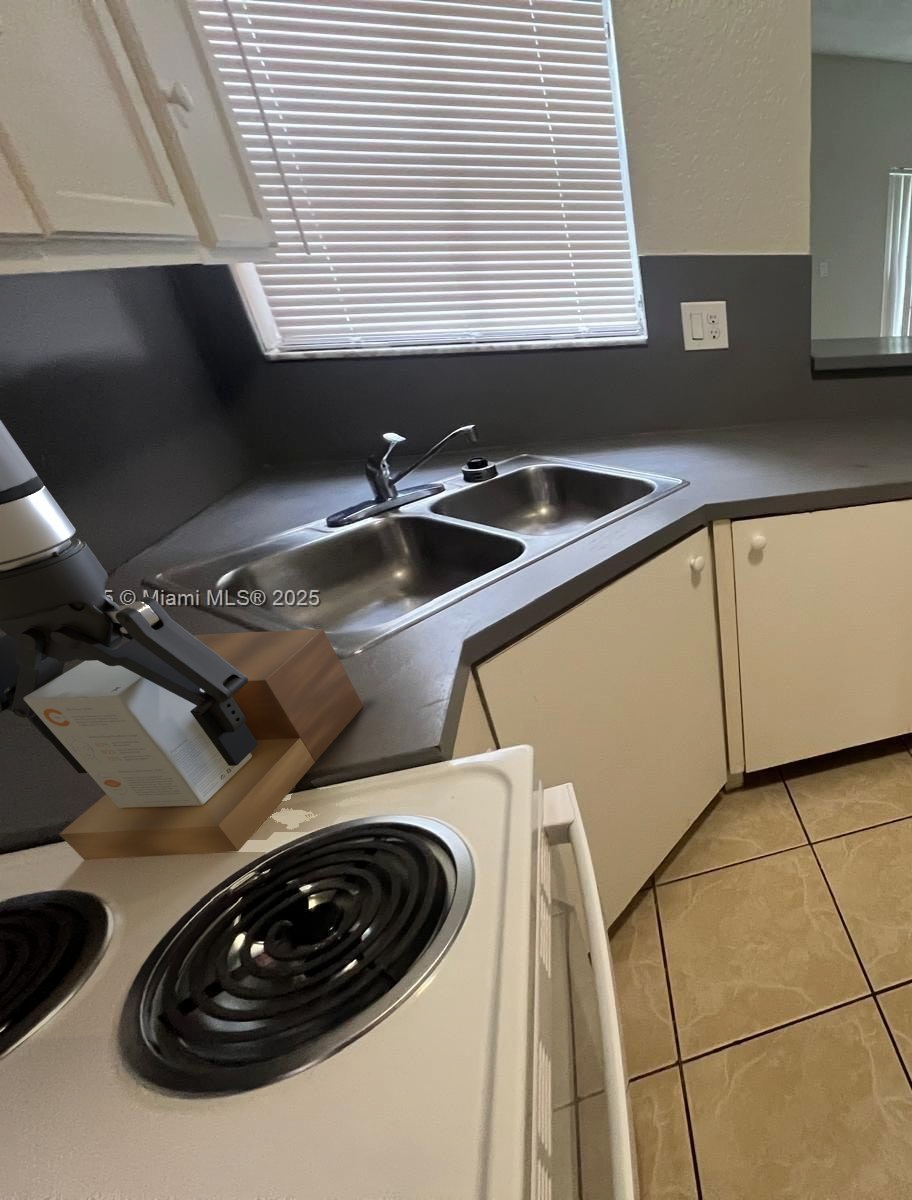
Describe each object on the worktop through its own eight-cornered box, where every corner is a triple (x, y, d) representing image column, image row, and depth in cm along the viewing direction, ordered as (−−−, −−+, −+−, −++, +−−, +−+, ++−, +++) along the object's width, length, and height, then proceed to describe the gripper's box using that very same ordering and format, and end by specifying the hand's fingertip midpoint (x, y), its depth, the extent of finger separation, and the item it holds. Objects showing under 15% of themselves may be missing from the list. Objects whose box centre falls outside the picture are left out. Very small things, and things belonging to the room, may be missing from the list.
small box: (255, 756, 62) (183, 649, 55) (202, 807, 57) (115, 696, 50) (176, 758, 62) (94, 652, 56) (116, 809, 57) (17, 699, 50)
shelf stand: (83, 859, 57) (-2, 773, 51) (245, 712, 74) (194, 634, 68) (238, 851, 57) (170, 764, 51) (363, 706, 74) (323, 628, 68)
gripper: (217, 525, 50) (330, 724, 61) (-95, 540, 50) (74, 736, 61) (134, 569, 44) (277, 782, 55) (-223, 586, 44) (-9, 797, 55)
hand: (170, 758), depth 58 cm, fingers open, 13 cm apart
